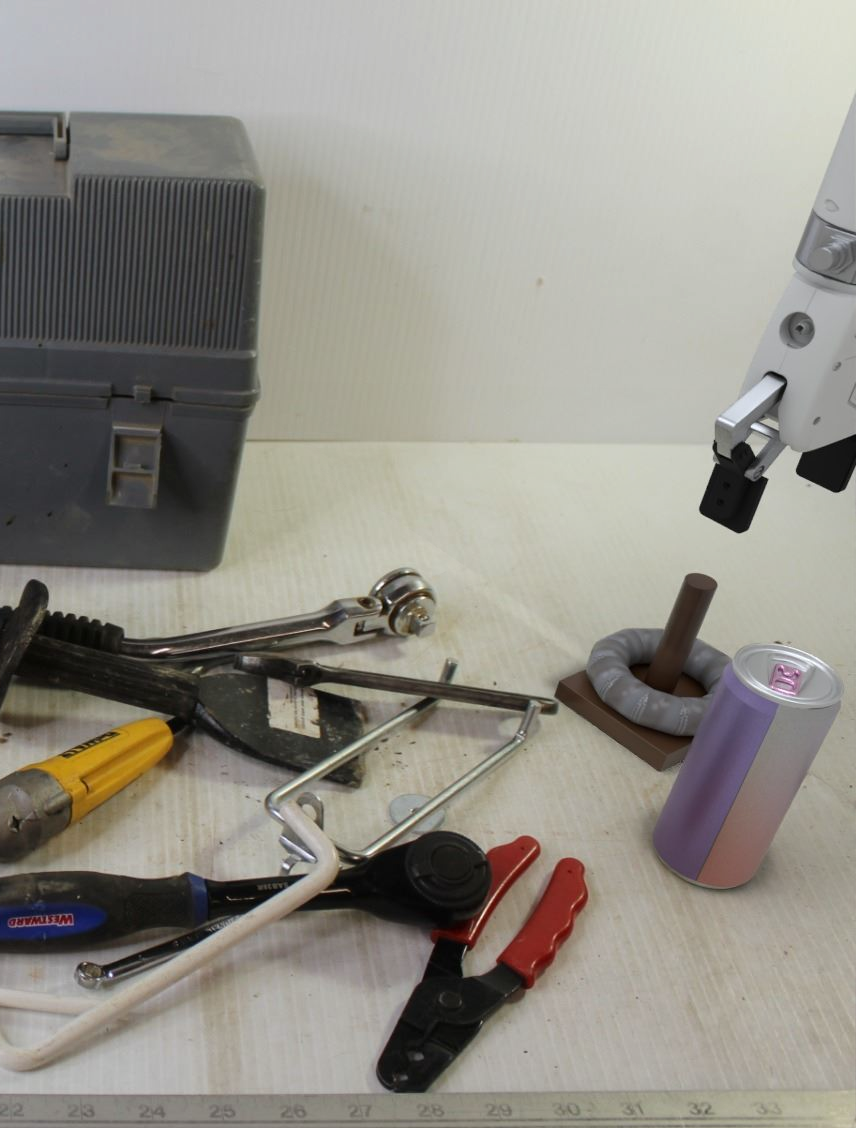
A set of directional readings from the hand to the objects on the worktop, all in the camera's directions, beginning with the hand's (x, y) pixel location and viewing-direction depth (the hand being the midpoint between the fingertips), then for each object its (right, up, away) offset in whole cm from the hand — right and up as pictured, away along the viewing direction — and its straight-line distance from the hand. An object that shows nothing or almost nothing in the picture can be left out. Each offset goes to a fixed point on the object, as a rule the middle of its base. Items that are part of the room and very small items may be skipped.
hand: (771, 502), depth 87 cm
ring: (-3, -12, +7) cm, 14 cm away
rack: (-4, -14, +8) cm, 17 cm away
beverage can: (-7, -23, -3) cm, 24 cm away
